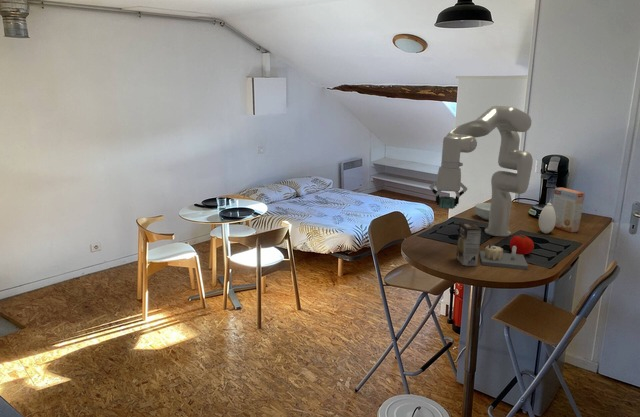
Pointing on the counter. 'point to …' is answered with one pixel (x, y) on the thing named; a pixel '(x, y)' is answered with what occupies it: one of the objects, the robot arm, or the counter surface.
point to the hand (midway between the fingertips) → (446, 204)
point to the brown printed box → (468, 244)
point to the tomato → (522, 244)
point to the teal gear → (447, 202)
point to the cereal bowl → (483, 210)
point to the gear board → (502, 258)
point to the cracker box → (568, 208)
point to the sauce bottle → (547, 218)
